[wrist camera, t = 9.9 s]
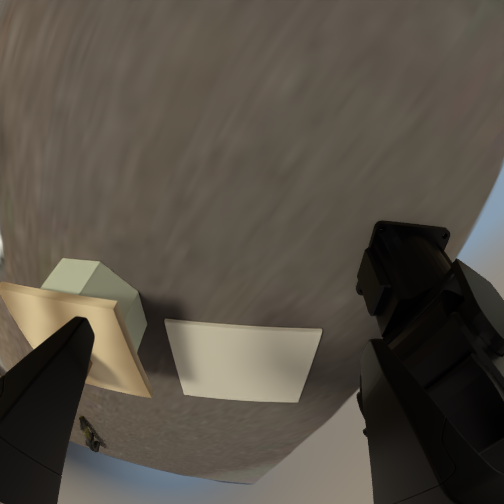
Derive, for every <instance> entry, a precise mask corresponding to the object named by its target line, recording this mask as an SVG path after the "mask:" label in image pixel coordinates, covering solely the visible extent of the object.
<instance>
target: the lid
mask: <svg viewBox="0 0 504 504" xmlns="http://www.w3.org/2000/svg"><path fill="white" fill-rule="evenodd" d="M0 295H1V297H2V298H3V300H4V302H5V304H6V306H7V307H8V309H9V311H10V313H11V314H12V316H13V318H14V319H15V321H16V323H17V324H18V326H19V328H20V329H21V331H22V332H23V334H24V335H25V337H26V339H27V340H28V342H29V343H30V345H31V346H32V347H33V349H35V348H36V347H37V346H39V345H40V344H41V343H42V342H44V341H45V340H46V339H47V338H48V337H50V336H51V335H52V334H53V333H55V332H56V331H57V330H58V329H60V328H61V327H62V326H63V325H65V324H66V323H67V322H68V321H70V320H71V319H72V318H74V317H75V316H81V317H86V318H87V319H88V321H89V323H90V325H91V327H92V329H93V331H94V334H95V341H94V345H93V350H92V354H91V359H90V363H89V368H88V373H87V377H86V381H85V383H87V384H90V385H94V386H98V387H102V388H106V389H110V390H114V391H119V392H123V393H128V394H133V395H137V396H143V397H148V398H152V395H153V389H152V387H151V385H150V382H149V380H148V378H147V376H146V373H145V371H144V369H143V367H142V364H141V362H140V359H139V357H138V355H137V352H136V350H135V347H134V345H133V342H132V340H131V337H130V334H129V332H128V329H127V326H126V324H125V321H124V318H123V315H122V313H121V310H120V307H119V304H118V301H114V300H107V299H100V298H93V297H86V296H79V295H73V294H67V293H61V292H55V291H49V290H43V289H37V288H32V287H27V286H21V285H16V284H11V283H6V282H1V283H0Z"/></svg>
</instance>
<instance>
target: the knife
mask: <svg viewBox="0 0 504 504" xmlns="http://www.w3.org/2000/svg"><path fill="white" fill-rule="evenodd" d="M79 420H80V427H81V430H82V431H83V433H84V436H85V438H86V445H87V446H89V447H90V449H91V450H92V451H94V452H98V451H99V446H100V443H99V442H97V441H94V435H93V433H91V432H89V429H88V427H87V424H86V422H85V420H84V418H83V417H82V416H80V417H79Z"/></svg>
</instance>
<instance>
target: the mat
mask: <svg viewBox="0 0 504 504" xmlns="http://www.w3.org/2000/svg"><path fill="white" fill-rule="evenodd" d="M164 323H165V327H166V331H167V335H168V339H169V342H170V346H171V350H172V354H173V357H174V361H175V364H176V368H177V371H178V375H179V378H180V382H181V385H182V388H183V392H184V395H192V396H200V397H209V398H219V399H230V400H244V401H262V402H298V400H299V398H300V395H301V392H302V390H303V387H304V384H305V381H306V379H307V376H308V373H309V370H310V367H311V364H312V362H313V359H314V356H315V353H316V350H317V347H318V344H319V341H320V337H321V334H322V329H314V328H283V327H262V326H245V325H231V324H217V323H206V322H195V321H184V320H175V319H166V318H165V321H164Z"/></svg>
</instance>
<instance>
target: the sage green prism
mask: <svg viewBox="0 0 504 504" xmlns="http://www.w3.org/2000/svg"><path fill="white" fill-rule="evenodd" d="M40 289H43V290H49V291H55V292H61V293H67V294H73V295H79V296H86V297H93V298H100V299H107V300H114V301H118V304H119V307H120V310H121V313H122V315H123V318H124V321H125V324H126V326H127V329H128V332H129V334H130V337H131V340H132V342H133V345H134V347H135V350H136V352H137V351H138V348H139V346H140V343H141V340H142V337H143V334H144V332H145V329H146V326H147V321H146V318H145V314H144V311H143V307H142V304H141V300H140V297H139V293H138V291H137V290H136V289H134V288H133V287H132V286H130V285H129V284H128V283H126V282H125V281H124V280H123V279H121V278H120V277H119V276H118V275H116V274H115V273H114V272H113V271H111V270H110V269H109V268H108V267H106V266H105V265H104V264H103V263H102V262H99V261H88V260H77V259H66V258H62V260H61V261H60V262H59V264H58V265H57V266H56V267H55V269H54V270H53V271H52V273H51V274H50V275H49V277H48V278H47V279H46V281H45V282H44V284H43V285H42V286H41V288H40Z"/></svg>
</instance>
